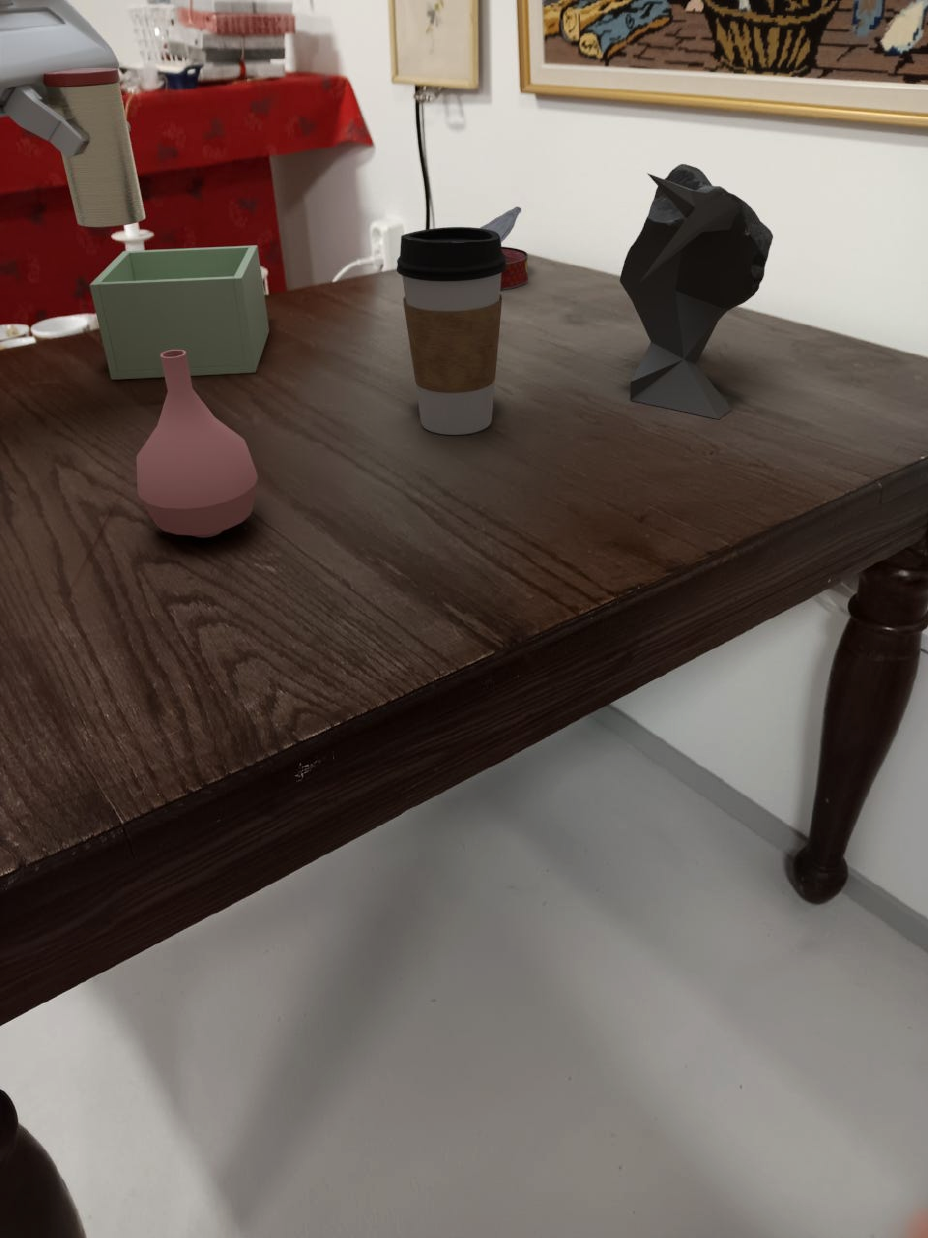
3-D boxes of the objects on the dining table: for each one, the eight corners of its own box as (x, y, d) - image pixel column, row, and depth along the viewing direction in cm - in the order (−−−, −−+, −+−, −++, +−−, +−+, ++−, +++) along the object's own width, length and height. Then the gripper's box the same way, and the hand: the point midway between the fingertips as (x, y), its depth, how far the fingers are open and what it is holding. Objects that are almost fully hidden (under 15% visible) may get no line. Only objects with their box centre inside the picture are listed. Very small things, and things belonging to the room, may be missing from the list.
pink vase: (274, 544, 63) (246, 363, 56) (154, 567, 60) (111, 382, 54) (253, 496, 69) (226, 328, 62) (144, 515, 67) (104, 344, 60)
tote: (111, 380, 91) (89, 284, 86) (141, 337, 102) (122, 250, 97) (255, 372, 92) (241, 277, 87) (269, 331, 103) (257, 245, 98)
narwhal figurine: (786, 367, 89) (821, 153, 79) (719, 419, 79) (749, 180, 69) (647, 342, 96) (663, 143, 86) (569, 387, 86) (577, 167, 76)
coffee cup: (388, 434, 78) (374, 239, 70) (430, 398, 84) (422, 217, 76) (485, 447, 75) (482, 246, 67) (520, 409, 82) (522, 222, 73)
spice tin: (68, 228, 71) (31, 74, 66) (86, 215, 75) (52, 68, 70) (139, 226, 71) (108, 71, 66) (153, 212, 76) (125, 66, 70)
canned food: (508, 327, 117) (496, 262, 109) (438, 309, 121) (421, 244, 112) (550, 265, 121) (541, 197, 113) (481, 249, 125) (467, 182, 116)
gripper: (-148, -59, 56) (48, 126, 60) (37, -50, 73) (182, 94, 77) (-185, 32, 59) (4, 202, 63) (1, 20, 76) (142, 155, 80)
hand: (103, 142), depth 70 cm, fingers closed on spice tin, 5 cm apart
